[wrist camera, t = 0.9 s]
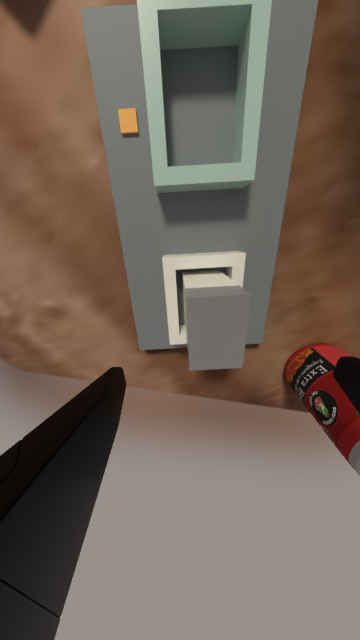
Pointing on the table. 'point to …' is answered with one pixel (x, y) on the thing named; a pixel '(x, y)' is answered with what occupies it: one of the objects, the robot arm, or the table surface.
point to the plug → (214, 320)
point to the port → (252, 37)
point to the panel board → (196, 155)
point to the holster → (171, 263)
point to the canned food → (326, 397)
